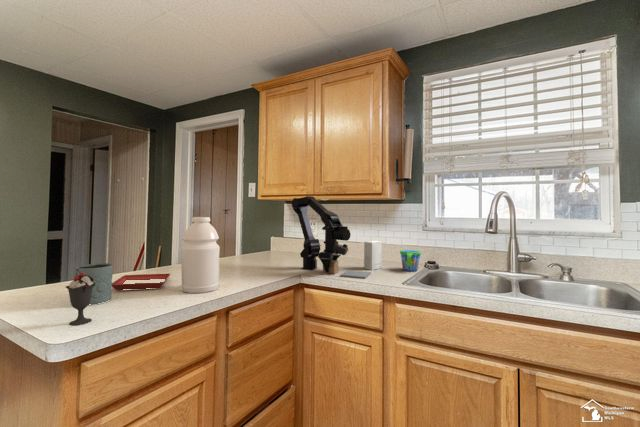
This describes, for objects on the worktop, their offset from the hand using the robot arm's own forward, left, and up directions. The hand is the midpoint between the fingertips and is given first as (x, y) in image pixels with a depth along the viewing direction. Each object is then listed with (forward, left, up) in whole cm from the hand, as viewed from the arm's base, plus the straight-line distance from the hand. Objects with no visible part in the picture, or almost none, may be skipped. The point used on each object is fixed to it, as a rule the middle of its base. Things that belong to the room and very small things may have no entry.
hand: (330, 270), depth 155 cm
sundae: (-40, -91, -1) cm, 99 cm away
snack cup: (+36, +24, -1) cm, 43 cm away
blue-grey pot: (-56, -77, -1) cm, 95 cm away
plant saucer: (-61, -55, -2) cm, 82 cm away
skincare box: (+17, +20, -1) cm, 26 cm away
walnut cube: (0, 0, -1) cm, 1 cm away
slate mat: (+13, 0, -1) cm, 13 cm away
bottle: (-36, -50, -1) cm, 62 cm away
